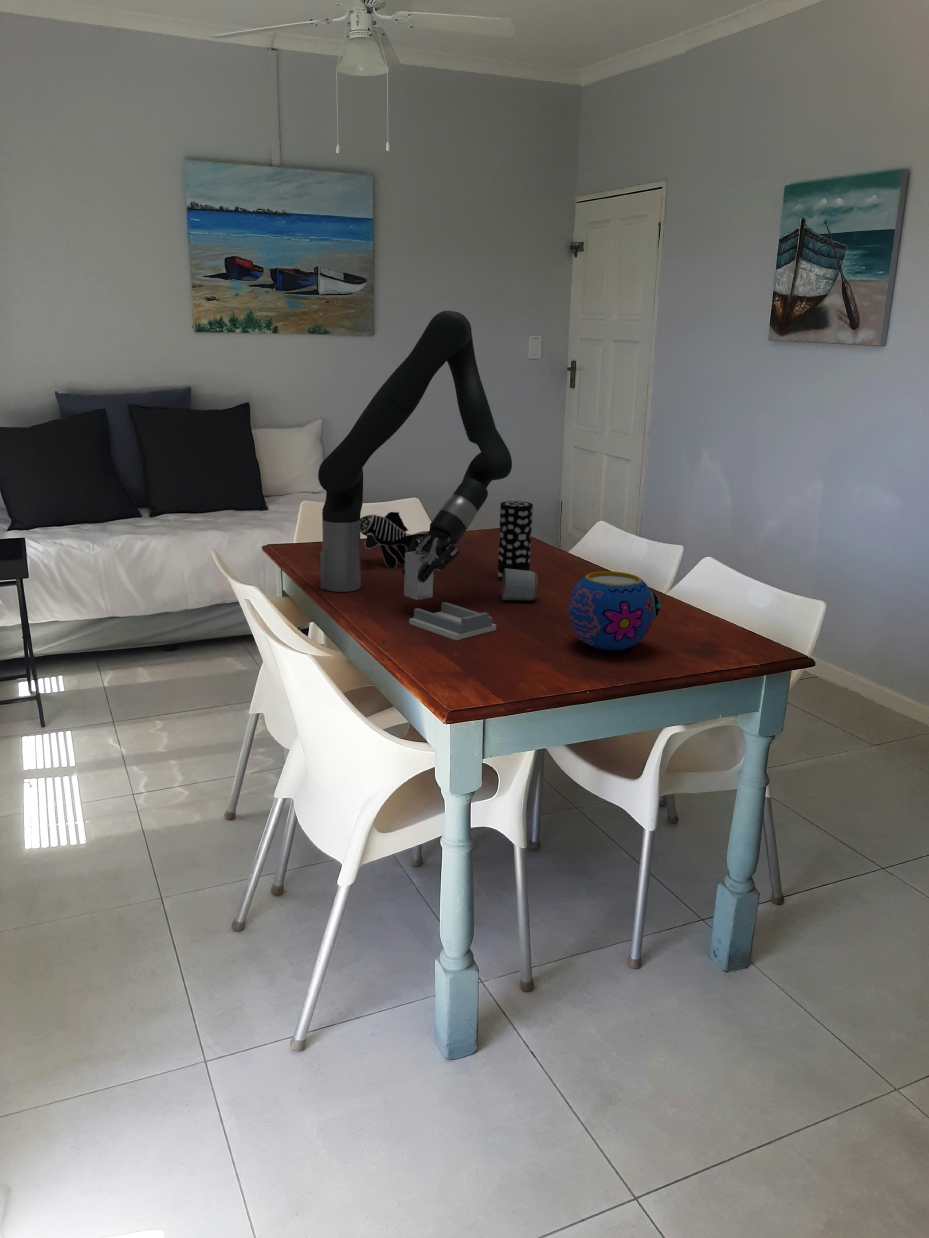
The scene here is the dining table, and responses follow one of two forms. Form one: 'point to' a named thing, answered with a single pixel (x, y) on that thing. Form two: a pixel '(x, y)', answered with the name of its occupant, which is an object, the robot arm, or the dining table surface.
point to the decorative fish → (388, 536)
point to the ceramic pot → (612, 610)
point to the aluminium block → (411, 582)
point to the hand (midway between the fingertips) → (412, 577)
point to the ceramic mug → (519, 585)
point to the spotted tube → (514, 536)
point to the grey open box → (453, 621)
